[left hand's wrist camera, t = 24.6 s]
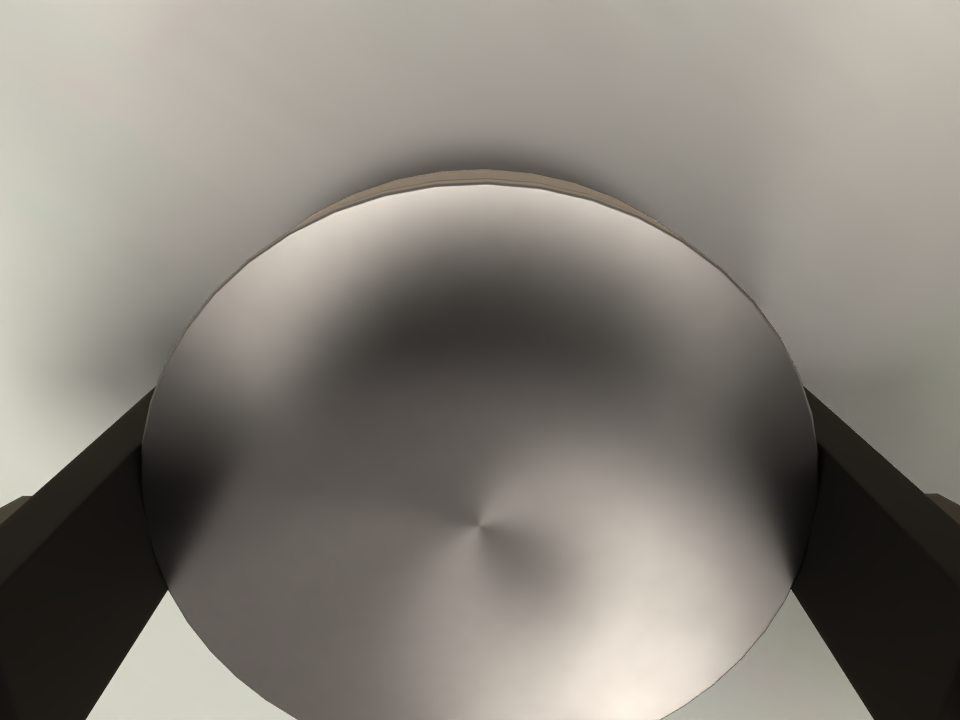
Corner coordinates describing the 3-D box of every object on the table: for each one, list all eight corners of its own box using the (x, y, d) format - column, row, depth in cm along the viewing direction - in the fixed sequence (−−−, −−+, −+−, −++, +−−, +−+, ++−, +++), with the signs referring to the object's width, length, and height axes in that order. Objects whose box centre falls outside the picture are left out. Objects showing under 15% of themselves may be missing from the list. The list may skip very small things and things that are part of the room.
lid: (342, 743, 15) (324, 823, 13) (66, 311, 11) (-5, 347, 9) (825, 601, 13) (874, 671, 12) (685, 57, 10) (726, 49, 8)
